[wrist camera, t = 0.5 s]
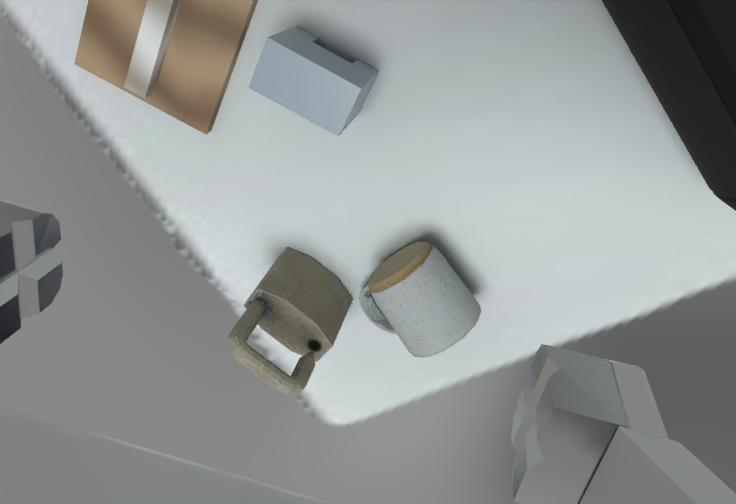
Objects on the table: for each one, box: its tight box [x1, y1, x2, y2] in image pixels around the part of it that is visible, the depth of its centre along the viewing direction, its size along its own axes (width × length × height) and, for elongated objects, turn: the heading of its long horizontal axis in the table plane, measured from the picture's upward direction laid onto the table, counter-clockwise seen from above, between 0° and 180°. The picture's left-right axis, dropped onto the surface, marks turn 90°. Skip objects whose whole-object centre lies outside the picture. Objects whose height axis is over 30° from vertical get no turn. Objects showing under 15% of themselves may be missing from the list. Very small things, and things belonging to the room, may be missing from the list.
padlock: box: [228, 247, 353, 394], centre depth 54 cm, size 4×8×15 cm, turn 52°
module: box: [249, 26, 379, 136], centre depth 48 cm, size 4×8×7 cm, turn 64°
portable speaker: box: [602, 0, 736, 211], centre depth 40 cm, size 26×10×10 cm, turn 37°
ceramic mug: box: [360, 241, 481, 357], centre depth 55 cm, size 11×8×8 cm
